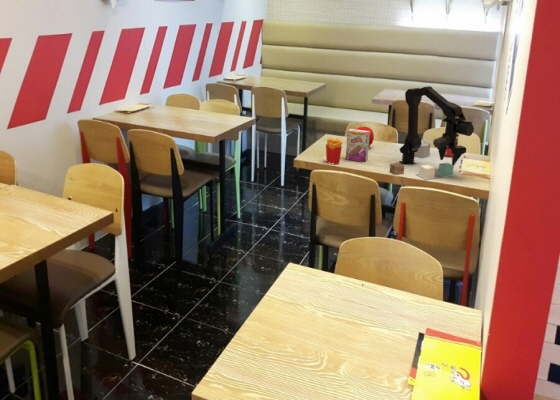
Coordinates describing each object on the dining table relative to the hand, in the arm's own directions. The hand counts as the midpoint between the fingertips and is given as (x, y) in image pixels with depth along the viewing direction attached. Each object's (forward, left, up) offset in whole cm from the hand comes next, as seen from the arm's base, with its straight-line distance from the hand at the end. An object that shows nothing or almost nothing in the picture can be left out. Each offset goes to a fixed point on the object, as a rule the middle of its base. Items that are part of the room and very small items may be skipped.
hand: (447, 162), depth 265 cm
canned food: (-28, +23, -7) cm, 37 cm away
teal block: (0, 0, -6) cm, 6 cm away
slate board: (0, -6, -7) cm, 9 cm away
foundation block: (0, -11, -6) cm, 13 cm away
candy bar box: (-37, -30, -7) cm, 48 cm away
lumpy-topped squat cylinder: (-35, +9, -7) cm, 37 cm away
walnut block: (-10, -22, -7) cm, 25 cm away
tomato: (-57, -15, -7) cm, 60 cm away
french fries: (-37, -44, -7) cm, 58 cm away
